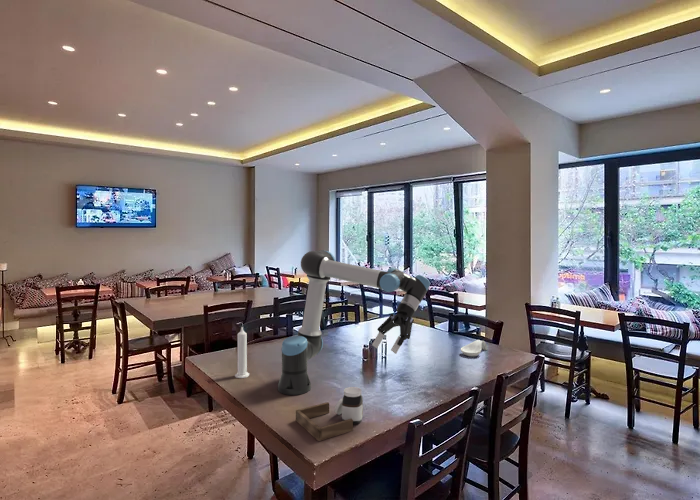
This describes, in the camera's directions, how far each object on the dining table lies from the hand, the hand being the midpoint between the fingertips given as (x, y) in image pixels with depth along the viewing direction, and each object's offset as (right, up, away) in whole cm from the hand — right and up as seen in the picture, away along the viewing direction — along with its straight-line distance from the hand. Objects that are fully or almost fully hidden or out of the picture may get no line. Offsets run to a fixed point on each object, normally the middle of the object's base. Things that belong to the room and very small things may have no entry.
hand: (383, 349), depth 165 cm
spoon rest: (+63, -22, +78) cm, 103 cm away
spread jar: (-15, -25, -11) cm, 30 cm away
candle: (-69, -23, +36) cm, 81 cm away
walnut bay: (-24, -24, -17) cm, 38 cm away
